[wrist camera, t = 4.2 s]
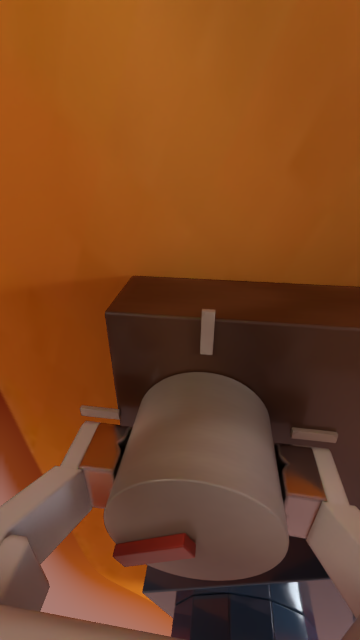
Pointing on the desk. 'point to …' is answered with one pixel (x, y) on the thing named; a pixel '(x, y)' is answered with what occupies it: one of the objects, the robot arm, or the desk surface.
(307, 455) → the robot arm
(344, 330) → the dial base
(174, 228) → the desk surface
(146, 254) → the desk surface
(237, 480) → the lock dial
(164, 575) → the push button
